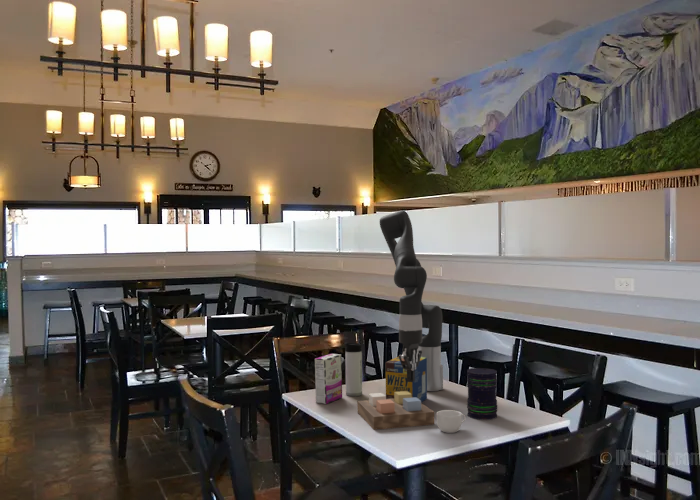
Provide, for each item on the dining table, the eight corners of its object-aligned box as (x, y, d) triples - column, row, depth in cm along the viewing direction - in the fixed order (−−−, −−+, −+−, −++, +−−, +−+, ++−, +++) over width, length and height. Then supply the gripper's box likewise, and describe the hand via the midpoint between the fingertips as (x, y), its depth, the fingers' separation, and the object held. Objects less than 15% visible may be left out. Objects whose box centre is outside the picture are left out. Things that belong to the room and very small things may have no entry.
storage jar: (491, 421, 194) (490, 375, 194) (462, 417, 199) (462, 372, 199) (501, 414, 202) (501, 369, 202) (473, 410, 208) (473, 366, 208)
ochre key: (407, 402, 207) (407, 391, 207) (411, 406, 202) (411, 394, 202) (394, 403, 206) (394, 391, 206) (398, 407, 201) (398, 395, 201)
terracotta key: (390, 411, 196) (390, 399, 196) (394, 415, 191) (394, 402, 191) (376, 412, 195) (376, 400, 195) (380, 416, 190) (380, 403, 190)
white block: (382, 404, 205) (381, 392, 205) (386, 408, 200) (385, 396, 200) (369, 405, 204) (368, 393, 204) (372, 409, 199) (372, 397, 199)
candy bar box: (331, 396, 229) (331, 353, 229) (342, 398, 226) (342, 354, 226) (314, 403, 220) (314, 358, 219) (325, 404, 217) (325, 359, 217)
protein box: (385, 405, 215) (384, 362, 215) (401, 395, 229) (401, 354, 229) (412, 408, 210) (412, 364, 210) (427, 398, 224) (427, 356, 224)
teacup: (446, 436, 180) (446, 418, 180) (431, 429, 186) (431, 412, 186) (473, 431, 184) (472, 413, 184) (457, 424, 191) (457, 407, 191)
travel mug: (342, 393, 233) (341, 342, 233) (357, 391, 236) (357, 340, 236) (349, 397, 227) (348, 344, 227) (365, 395, 230) (364, 342, 230)
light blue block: (416, 409, 198) (416, 397, 198) (421, 413, 194) (421, 400, 194) (403, 410, 197) (402, 398, 197) (407, 414, 193) (407, 401, 193)
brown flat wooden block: (412, 408, 211) (412, 396, 211) (434, 424, 191) (434, 411, 191) (357, 412, 206) (357, 401, 206) (373, 429, 187) (373, 416, 186)
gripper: (408, 325, 203) (409, 376, 203) (390, 329, 192) (391, 384, 192) (429, 326, 199) (429, 379, 199) (412, 331, 188) (412, 386, 188)
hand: (410, 381), depth 195 cm, fingers closed
